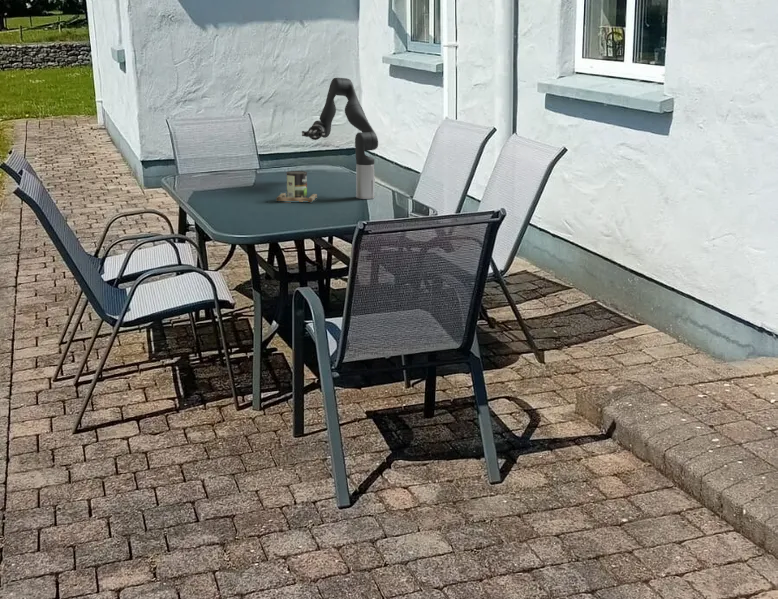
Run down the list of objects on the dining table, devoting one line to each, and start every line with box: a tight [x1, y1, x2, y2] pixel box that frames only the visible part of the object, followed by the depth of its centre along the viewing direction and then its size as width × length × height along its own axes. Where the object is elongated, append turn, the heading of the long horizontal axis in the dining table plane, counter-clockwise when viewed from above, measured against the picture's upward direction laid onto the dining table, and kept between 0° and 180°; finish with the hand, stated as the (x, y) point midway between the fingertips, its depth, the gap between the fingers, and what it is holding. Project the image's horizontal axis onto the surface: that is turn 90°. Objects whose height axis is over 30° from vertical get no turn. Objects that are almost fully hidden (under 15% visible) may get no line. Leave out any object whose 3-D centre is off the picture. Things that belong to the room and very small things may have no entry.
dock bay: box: [275, 192, 318, 202], centre depth 494 cm, size 18×14×2 cm
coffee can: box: [286, 170, 308, 198], centre depth 493 cm, size 10×10×14 cm
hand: (310, 135), depth 509 cm, fingers closed
